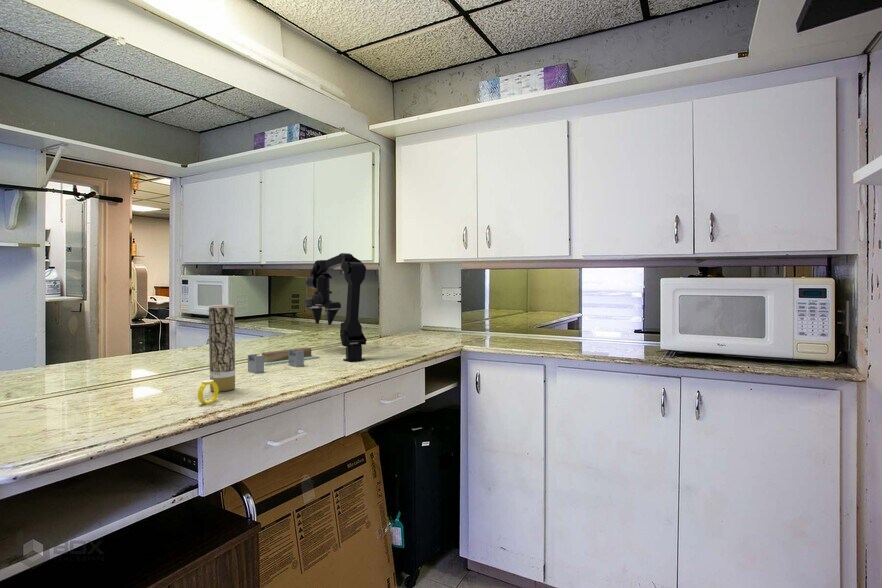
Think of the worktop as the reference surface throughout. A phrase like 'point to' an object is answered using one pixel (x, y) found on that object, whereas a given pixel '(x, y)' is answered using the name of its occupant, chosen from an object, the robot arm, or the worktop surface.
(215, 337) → the brown tall cylinder
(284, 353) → the rail
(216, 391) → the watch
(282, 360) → the mat
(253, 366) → the post
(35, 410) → the worktop surface
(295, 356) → the post
